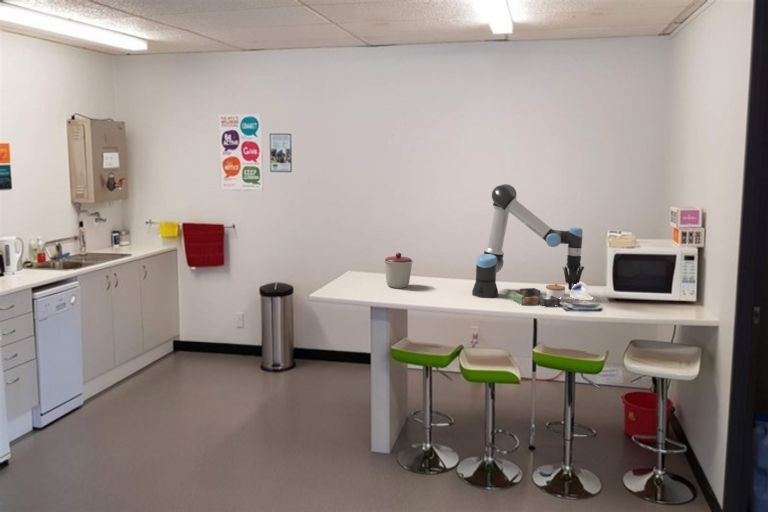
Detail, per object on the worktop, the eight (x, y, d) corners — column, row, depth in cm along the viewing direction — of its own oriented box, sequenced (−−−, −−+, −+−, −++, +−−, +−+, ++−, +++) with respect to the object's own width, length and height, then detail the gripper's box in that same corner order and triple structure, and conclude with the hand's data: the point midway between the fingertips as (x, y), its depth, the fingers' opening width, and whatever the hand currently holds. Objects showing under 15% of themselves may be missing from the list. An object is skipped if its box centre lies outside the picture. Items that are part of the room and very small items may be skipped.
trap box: (526, 307, 366) (527, 298, 365) (503, 296, 393) (503, 287, 393) (559, 306, 371) (559, 297, 370) (534, 294, 399) (534, 286, 398)
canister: (382, 283, 422) (383, 250, 419) (411, 283, 423) (412, 250, 419) (383, 289, 404) (384, 254, 401) (413, 289, 405) (414, 255, 401)
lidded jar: (564, 302, 380) (566, 286, 379) (545, 301, 382) (546, 285, 381) (563, 298, 391) (564, 282, 389) (544, 297, 393) (545, 281, 391)
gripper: (567, 256, 380) (564, 296, 384) (587, 255, 383) (584, 296, 387) (560, 254, 387) (558, 294, 391) (580, 253, 391) (577, 293, 394)
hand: (571, 294), depth 389 cm, fingers closed
